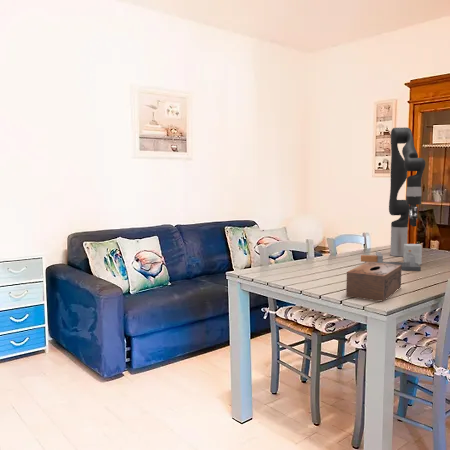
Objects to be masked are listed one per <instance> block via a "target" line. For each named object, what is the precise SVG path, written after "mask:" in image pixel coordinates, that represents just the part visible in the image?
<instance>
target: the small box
mask: <svg viewBox="0 0 450 450" xmlns="http://www.w3.org/2000/svg"><path fill="white" fill-rule="evenodd" d="M407 253H412V254H413V255H414V256H415V263H417V264H418V265H419V266H420V265H422V258H423V256H422V255H423V246H422V244H420V243H407V244H404V256H403V262H407Z"/></svg>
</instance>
